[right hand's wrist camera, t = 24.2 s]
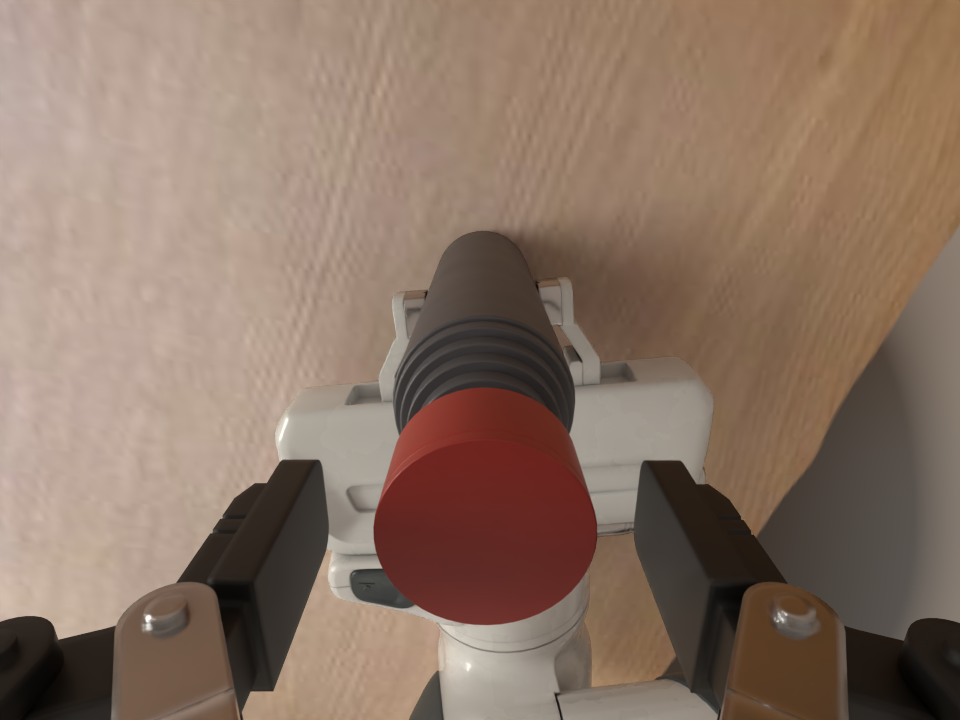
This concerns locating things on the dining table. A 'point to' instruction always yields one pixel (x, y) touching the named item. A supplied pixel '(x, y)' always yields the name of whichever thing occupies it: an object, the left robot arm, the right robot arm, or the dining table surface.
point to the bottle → (483, 333)
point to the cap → (485, 509)
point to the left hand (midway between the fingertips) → (480, 286)
